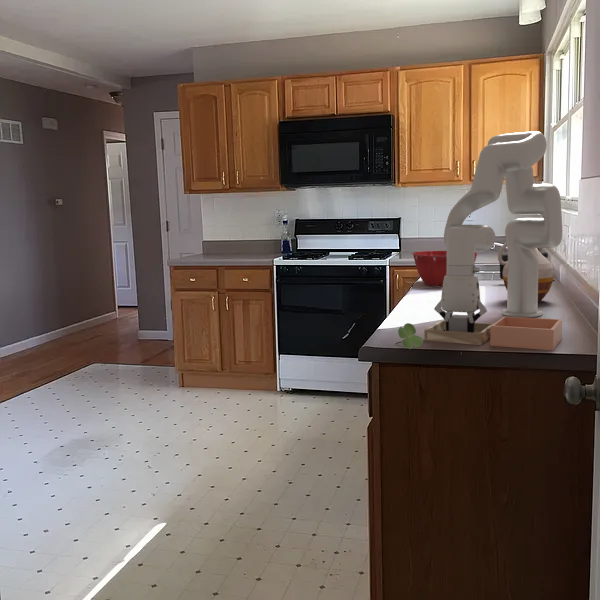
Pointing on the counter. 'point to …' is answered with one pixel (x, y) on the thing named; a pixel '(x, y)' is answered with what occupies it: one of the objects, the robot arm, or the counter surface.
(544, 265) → the jug
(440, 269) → the mixing bowl
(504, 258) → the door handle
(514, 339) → the bin
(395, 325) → the counter surface
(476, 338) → the frame
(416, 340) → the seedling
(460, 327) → the grey block
